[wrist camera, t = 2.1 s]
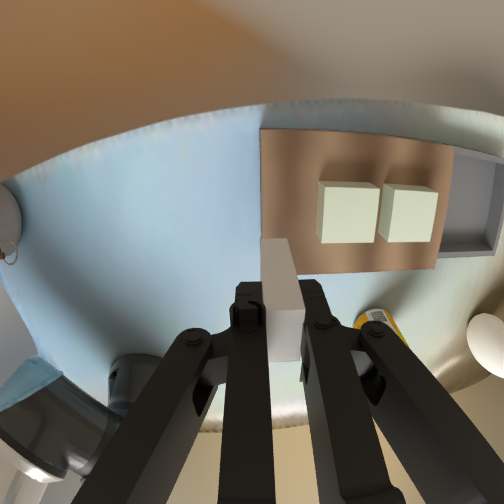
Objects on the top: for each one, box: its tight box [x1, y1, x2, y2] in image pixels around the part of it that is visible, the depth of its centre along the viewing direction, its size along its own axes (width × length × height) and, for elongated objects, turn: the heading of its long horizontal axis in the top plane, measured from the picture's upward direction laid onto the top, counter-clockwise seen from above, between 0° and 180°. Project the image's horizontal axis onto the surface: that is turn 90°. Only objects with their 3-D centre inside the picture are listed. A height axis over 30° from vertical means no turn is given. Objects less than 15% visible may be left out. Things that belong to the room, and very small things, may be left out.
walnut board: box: [259, 128, 454, 275], centre depth 29 cm, size 20×14×6 cm
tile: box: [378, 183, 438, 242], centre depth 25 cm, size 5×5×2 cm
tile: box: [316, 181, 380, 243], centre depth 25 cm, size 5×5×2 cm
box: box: [430, 141, 504, 258], centre depth 30 cm, size 14×14×4 cm
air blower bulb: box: [467, 313, 504, 378], centre depth 33 cm, size 8×8×18 cm
